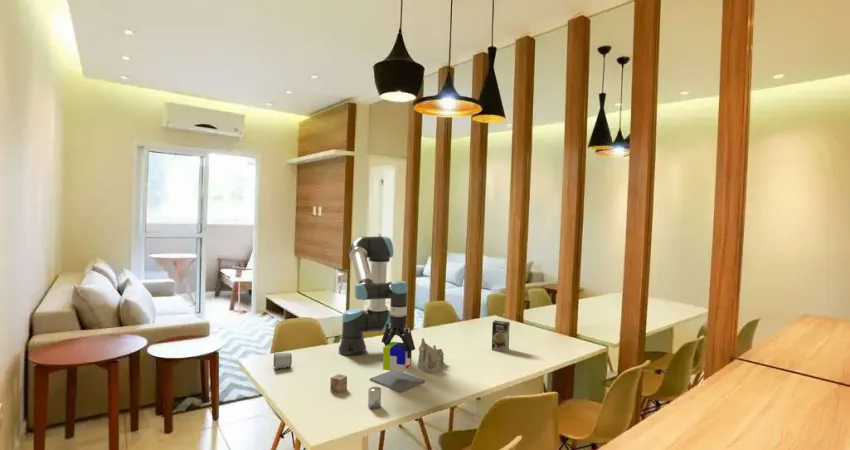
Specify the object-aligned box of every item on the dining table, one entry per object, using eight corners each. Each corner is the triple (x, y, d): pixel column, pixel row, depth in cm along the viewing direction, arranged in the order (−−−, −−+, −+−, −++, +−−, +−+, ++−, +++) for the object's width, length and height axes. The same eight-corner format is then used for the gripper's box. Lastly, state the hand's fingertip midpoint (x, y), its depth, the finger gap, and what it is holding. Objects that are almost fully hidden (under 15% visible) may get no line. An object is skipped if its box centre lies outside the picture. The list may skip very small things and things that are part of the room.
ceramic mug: (292, 369, 208) (292, 353, 208) (274, 371, 205) (274, 355, 205) (289, 362, 218) (289, 347, 218) (272, 364, 214) (272, 349, 214)
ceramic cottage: (426, 374, 204) (428, 343, 205) (412, 365, 219) (414, 335, 219) (454, 372, 211) (455, 341, 211) (438, 363, 225) (440, 334, 226)
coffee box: (491, 350, 244) (491, 322, 244) (493, 347, 250) (494, 319, 250) (507, 352, 241) (507, 324, 241) (509, 349, 247) (509, 321, 247)
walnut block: (330, 391, 183) (330, 377, 183) (337, 387, 187) (337, 373, 187) (339, 393, 180) (339, 379, 180) (346, 389, 185) (347, 376, 185)
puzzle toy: (403, 372, 189) (403, 350, 188) (382, 369, 192) (383, 347, 192) (411, 365, 198) (411, 343, 198) (391, 362, 201) (392, 341, 201)
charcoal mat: (369, 380, 196) (369, 378, 196) (394, 371, 208) (394, 369, 208) (400, 392, 183) (400, 390, 183) (424, 382, 195) (424, 380, 195)
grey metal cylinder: (365, 406, 168) (365, 389, 168) (374, 402, 172) (375, 385, 172) (374, 410, 165) (374, 393, 165) (383, 406, 169) (383, 389, 169)
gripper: (374, 312, 200) (373, 357, 200) (412, 320, 184) (411, 370, 184) (386, 309, 206) (385, 353, 206) (423, 318, 190) (422, 365, 190)
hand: (397, 361), depth 195 cm, fingers closed on puzzle toy, 12 cm apart
